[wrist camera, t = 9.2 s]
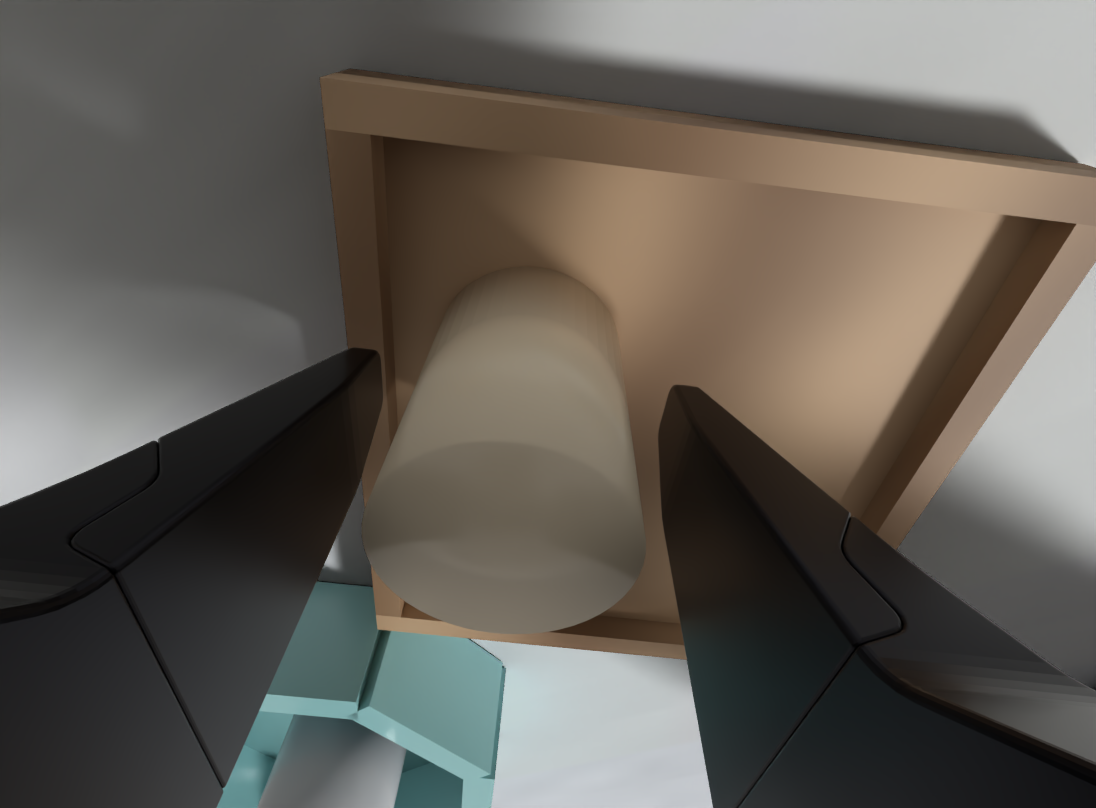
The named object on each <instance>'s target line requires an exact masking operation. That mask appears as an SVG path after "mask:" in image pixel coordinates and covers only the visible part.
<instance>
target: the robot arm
mask: <svg viewBox="0 0 1096 808" xmlns="http://www.w3.org/2000/svg"><path fill="white" fill-rule="evenodd" d="M382 403H383V385H382V370H381V358H380V355H379V353H378V351H376V350H373V349H365V348H356V347H353V348H349V349H347V350H345V351H343V352H341V353H339V354H337V355H334V356H332V357H330V358H328V359H326V360H324V361H322V362H320V363H317V364H315V365H313V366H311V367H309V368H307V369H305V370H303V371H300V372H298V373H296V374H294V375H292V376H290V377H288V378H286V379H283V380H281V381H279V382H277V383H275V384H273V385H271V386H269V387H266V388H264V389H262V390H260V391H258V392H256V393H254V394H252V395H249V396H247V397H245V398H243V399H241V400H239V401H237V402H235V403H232V404H230V405H228V406H226V407H224V408H222V409H220V410H218V411H215V412H213V413H211V414H209V415H207V416H205V417H203V418H201V419H198V420H196V421H194V422H192V423H190V424H188V425H186V426H184V427H181V428H179V429H177V430H175V431H173V432H171V433H169V434H167V435H164V436H162V437H160V438H159V439H158V442H157V441H151V442H149V443H147V444H145V445H143V446H141V447H139V448H137V449H135V450H133V451H130V452H128V453H126V454H124V455H122V456H119V457H117V458H115V459H113V460H111V461H108V462H106V463H104V464H102V465H99V466H97V467H95V468H93V469H91V470H88V471H86V472H84V473H82V474H79V475H77V476H74V477H72V478H69V479H67V480H65V481H62V482H60V483H57V484H55V485H52V486H50V487H48V488H45V489H43V490H40V491H38V492H35V493H33V494H31V495H28V496H25V497H23V498H20V499H18V500H15V501H13V502H10V503H8V504H5V505H3V506H0V808H217V806H218V804H219V801H220V799H221V797H222V795H223V789H222V788H224V787H225V786H226V785H227V783H228V780H229V778H230V776H231V773H232V771H233V769H234V767H235V764H236V762H237V760H238V758H239V755H240V753H241V751H242V749H243V746H244V744H245V742H246V740H247V737H248V735H249V733H250V731H251V728H252V726H253V724H254V722H255V719H256V717H257V715H258V713H259V710H260V708H261V706H262V703H263V701H264V699H265V697H266V694H267V692H268V690H269V688H270V685H271V683H272V681H273V679H274V676H275V674H276V672H277V670H278V667H279V665H280V663H281V661H282V658H283V656H284V654H285V652H286V649H287V647H288V645H289V643H290V640H291V638H292V636H293V633H294V631H295V629H296V627H297V624H298V622H299V620H300V618H301V615H302V613H303V611H304V609H305V606H306V604H307V602H308V600H309V597H310V595H311V593H312V591H313V588H314V586H315V584H316V582H317V579H318V577H319V575H320V573H321V570H322V568H323V566H324V564H325V561H326V559H327V557H328V554H329V552H330V550H331V548H332V545H333V543H334V541H335V539H336V536H337V534H338V532H339V530H340V527H341V525H342V523H343V521H344V518H345V516H346V514H347V512H348V509H349V507H350V505H351V503H352V500H353V498H354V496H355V493H356V491H357V488H358V486H359V483H360V479H361V476H362V473H363V470H364V466H365V463H366V460H367V456H368V453H369V449H370V446H371V443H372V439H373V436H374V432H375V429H376V426H377V422H378V419H379V415H380V412H381V408H382ZM658 450H659V471H660V493H661V511H662V522H663V528H664V535H665V540H666V546H667V551H668V557H669V563H670V568H671V574H672V579H673V585H674V591H675V596H676V602H677V607H678V613H679V619H680V624H681V630H682V636H683V641H684V647H685V652H686V658H687V664H688V669H689V675H690V680H691V686H692V692H693V697H694V703H695V708H696V714H697V720H698V725H699V731H700V736H701V742H702V748H703V753H704V759H705V764H706V770H707V776H708V781H709V787H710V792H711V798H712V804H713V808H1096V690H1094V689H1091V688H1090V687H1088V686H1086V685H1084V684H1083V683H1081V682H1079V681H1077V680H1075V679H1074V678H1072V677H1070V676H1069V675H1067V674H1066V673H1064V672H1063V671H1061V670H1060V669H1058V668H1057V667H1055V666H1054V665H1052V664H1051V663H1049V662H1048V661H1047V660H1045V659H1044V658H1042V657H1041V656H1040V655H1038V654H1037V653H1036V652H1034V651H1033V650H1031V649H1030V648H1029V647H1027V646H1026V645H1024V644H1023V643H1022V642H1020V641H1019V640H1018V639H1016V638H1015V637H1013V636H1012V635H1011V634H1009V633H1008V632H1006V631H1005V630H1004V629H1002V628H1001V627H1000V626H998V625H997V624H995V623H994V622H993V621H991V620H990V619H988V618H987V617H986V616H984V615H983V614H982V613H980V612H979V611H977V610H976V609H975V608H973V607H972V606H971V605H969V604H968V603H966V602H965V601H964V600H962V599H961V598H959V597H958V596H957V595H955V594H954V593H953V592H951V591H950V590H948V589H947V588H946V587H944V586H943V585H942V584H940V583H939V582H938V581H936V580H935V579H934V578H932V577H931V576H930V575H928V574H927V573H925V572H924V571H923V570H921V569H920V568H919V567H917V566H916V565H915V564H913V563H912V562H911V561H909V560H908V559H907V558H906V557H904V556H903V555H902V554H900V553H899V552H898V551H897V550H895V549H894V548H893V547H892V546H890V545H889V544H888V543H887V542H885V541H884V540H883V539H882V538H880V537H879V536H878V535H877V534H875V533H874V532H873V531H872V530H871V529H869V528H868V527H867V526H866V525H865V524H863V523H862V522H861V521H860V520H859V519H857V518H856V517H854V516H852V517H850V516H851V514H850V512H849V511H848V510H846V509H845V508H844V507H843V506H842V505H840V504H839V503H838V502H837V501H835V500H834V499H833V498H832V497H831V496H829V495H828V494H827V493H826V492H825V491H823V490H822V489H821V488H820V487H819V486H817V485H816V484H815V483H814V482H813V481H811V480H810V479H809V478H808V477H806V476H805V475H804V474H803V473H802V472H800V471H799V470H798V469H797V468H796V467H794V466H793V465H792V464H791V463H790V462H788V461H787V460H786V459H785V458H784V457H782V456H781V455H780V454H779V453H777V452H776V451H775V450H774V449H773V448H771V447H770V446H769V445H768V444H767V443H765V442H764V441H763V440H762V439H761V438H759V437H758V436H757V435H756V434H755V433H753V432H752V431H751V430H750V429H748V428H747V427H746V426H745V425H744V424H742V423H741V422H740V421H739V420H738V419H736V418H735V417H734V416H733V415H732V414H730V413H729V412H728V411H727V410H726V409H724V408H723V407H722V406H721V405H719V404H718V403H717V402H716V401H715V400H713V399H712V398H711V397H710V396H709V395H707V394H706V393H705V392H704V391H703V390H701V389H700V388H699V387H696V386H688V385H679V384H677V385H673V386H672V387H671V389H670V391H669V394H668V397H667V401H666V404H665V408H664V411H663V415H662V418H661V422H660V426H659V432H658Z"/></svg>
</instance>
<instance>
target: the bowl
mask: <svg viewBox="0 0 1096 808" xmlns="http://www.w3.org/2000/svg"><path fill="white" fill-rule="evenodd" d="M502 664H503V663H502V662H501V661H500V660H498V659H497V658H495V657H494V656H492V655H491V654H489V653H488V652H487V651H485V650H484V649H482V648H481V647H479V646H478V645H477V644H475V643H474V642H472V641H471V640H469V639H468V638H459V637H449V636H439V635H429V634H418V633H408V632H398V631H388V630H377V620H376V611H375V601H374V592H373V587H366V586H356V585H346V584H336V583H326V582H316V584H315V586H314V588H313V591H312V593H311V595H310V597H309V600H308V602H307V604H306V606H305V609H304V611H303V613H302V615H301V618H300V620H299V622H298V624H297V627H296V629H295V631H294V633H293V636H292V638H291V640H290V643H289V645H288V647H287V649H286V652H285V654H284V656H283V658H282V661H281V663H280V665H279V667H278V670H277V672H276V674H275V676H274V679H273V681H272V683H271V685H270V688H269V690H268V692H267V694H266V697H265V699H264V701H263V703H262V706H261V708H260V710H259V713H258V715H257V717H256V719H255V722H254V724H253V726H252V728H251V731H250V733H249V735H248V737H247V740H246V742H245V744H244V746H243V749H242V751H241V753H240V755H239V758H238V760H237V762H236V764H235V767H234V769H233V771H232V773H231V776H230V778H229V780H228V783H227V785H226V786H225V787H224V788H222V789H223V795H222V797H221V799H220V801H219V804H218V806H217V808H257V807H258V804H259V802H260V799H261V796H262V794H263V791H264V789H265V786H266V784H267V781H268V779H269V776H270V773H271V771H272V768H273V766H274V763H275V761H276V758H277V756H278V753H279V750H280V748H281V745H282V743H283V740H284V738H285V735H286V733H287V730H288V727H289V725H290V722H291V720H292V717H293V715H294V714H297V715H308V716H319V717H330V718H341V719H351V720H353V721H355V722H357V723H359V724H361V725H363V726H365V727H367V728H368V729H370V730H372V731H374V732H376V733H378V734H380V735H381V736H383V737H385V738H387V739H389V740H391V741H393V742H394V743H396V744H398V745H400V746H402V747H404V748H406V749H407V750H406V755H405V759H404V764H403V768H402V773H401V777H400V782H399V787H398V791H397V796H396V800H395V805H394V808H491V803H492V795H493V787H494V780H495V770H496V760H497V750H498V741H499V731H500V721H501V711H502V701H503V691H504V682H505V672H506V668H502Z"/></svg>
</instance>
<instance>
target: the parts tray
mask: <svg viewBox="0 0 1096 808" xmlns="http://www.w3.org/2000/svg"><path fill="white" fill-rule="evenodd" d="M320 86H321V96H322V105H323V115H324V124H325V134H326V143H327V153H328V162H329V172H330V182H331V191H332V201H333V210H334V220H335V229H336V239H337V248H338V258H339V267H340V277H341V287H342V296H343V306H344V315H345V325H346V334H347V344H348V349H349V348H353V347H356V348H365V349H373V350H376V351H378V353H379V355H380V358H381V370H382V385H383V403H382V408H381V412H380V415H379V419H378V422H377V426H376V429H375V432H374V436H373V439H372V443H371V446H370V449H369V453H368V456H367V460H366V463H365V466H364V470H363V473H362V476H361V477H362V487H363V496H364V506H365V507H366V505H367V502H368V500H369V497H370V495H371V492H372V490H373V488H374V485H375V483H376V480H377V478H378V475H379V473H380V470H381V468H382V466H383V463H384V461H385V458H386V456H387V453H388V451H389V449H390V446H391V444H392V441H393V439H394V436H395V434H396V432H397V429H398V427H399V424H400V422H401V419H402V417H403V415H404V412H405V410H406V407H407V405H408V402H409V400H410V398H411V395H412V393H413V390H414V388H415V385H416V383H417V381H418V378H419V376H420V373H421V371H422V368H423V366H424V364H425V361H426V359H427V356H428V354H429V351H430V349H431V347H432V344H433V342H434V339H435V337H436V334H437V332H438V330H439V327H440V325H441V322H442V320H443V317H444V315H445V313H446V311H447V309H448V307H449V305H450V304H451V302H452V301H453V300H454V298H455V297H456V296H457V295H458V294H459V293H460V292H461V291H462V290H463V289H464V288H465V287H466V286H467V285H469V284H470V283H472V282H473V281H475V280H476V279H478V278H480V277H482V276H484V275H486V274H488V273H491V272H494V271H497V270H500V269H505V268H510V267H521V266H530V267H541V268H546V269H551V270H554V271H558V272H561V273H564V274H566V275H568V276H570V277H572V278H574V279H576V280H578V281H579V282H581V283H582V284H584V285H585V286H587V287H588V288H589V289H590V290H591V291H593V292H594V293H595V294H596V295H597V296H598V297H599V299H600V300H601V301H602V302H603V303H604V305H605V306H606V308H607V309H608V311H609V312H610V314H611V316H612V318H613V320H614V323H615V326H616V329H617V333H618V339H619V345H620V353H621V360H622V367H623V375H624V382H625V390H626V397H627V404H628V412H629V419H630V427H631V434H632V441H633V449H634V456H635V464H636V471H637V478H638V486H639V493H640V500H641V508H642V515H643V523H644V530H645V537H646V555H645V559H644V564H643V567H642V569H641V572H640V574H639V577H638V578H637V580H636V581H635V583H634V585H633V586H632V588H631V589H630V590H629V591H628V592H627V593H626V594H625V596H624V597H623V598H622V599H620V600H619V601H618V602H617V603H616V604H614V605H613V606H612V607H611V608H609V609H607V610H606V611H604V612H603V613H601V614H599V615H597V616H595V617H593V618H591V619H589V620H587V621H585V622H582V623H579V624H577V625H574V626H571V627H567V628H563V629H559V630H554V631H549V632H543V633H533V634H498V633H489V632H482V631H476V630H472V629H467V628H463V627H459V626H456V625H453V624H449V623H447V622H444V621H442V620H439V619H436V618H434V617H432V616H430V615H428V614H426V613H424V612H422V611H420V610H418V609H416V608H415V607H413V606H412V605H410V604H408V603H407V602H405V601H404V600H403V599H401V598H400V597H399V596H398V595H396V594H395V593H394V592H393V591H392V590H391V589H390V588H389V587H388V586H387V585H386V584H385V583H384V582H383V581H382V580H381V578H380V577H379V576H378V575H377V573H376V572H375V570H374V569H373V567H372V565H371V573H372V582H373V592H374V601H375V611H376V620H377V630H388V631H398V632H408V633H418V634H429V635H439V636H449V637H459V638H470V639H480V640H490V641H500V642H511V643H521V644H531V645H541V646H552V647H562V648H572V649H582V650H592V651H603V652H613V653H623V654H633V655H644V656H654V657H664V658H674V659H685V660H687V658H686V652H685V647H684V641H683V636H682V630H681V624H680V619H679V613H678V607H677V602H676V596H675V591H674V585H673V579H672V574H671V568H670V563H669V557H668V551H667V546H666V540H665V535H664V528H663V522H662V511H661V493H660V471H659V450H658V432H659V426H660V422H661V418H662V415H663V411H664V408H665V404H666V401H667V397H668V394H669V391H670V389H671V387H672V386H673V385H677V384H679V385H688V386H696V387H699V388H700V389H701V390H703V391H704V392H705V393H706V394H707V395H709V396H710V397H711V398H712V399H713V400H715V401H716V402H717V403H718V404H719V405H721V406H722V407H723V408H724V409H726V410H727V411H728V412H729V413H730V414H732V415H733V416H734V417H735V418H736V419H738V420H739V421H740V422H741V423H742V424H744V425H745V426H746V427H747V428H748V429H750V430H751V431H752V432H753V433H755V434H756V435H757V436H758V437H759V438H761V439H762V440H763V441H764V442H765V443H767V444H768V445H769V446H770V447H771V448H773V449H774V450H775V451H776V452H777V453H779V454H780V455H781V456H782V457H784V458H785V459H786V460H787V461H788V462H790V463H791V464H792V465H793V466H794V467H796V468H797V469H798V470H799V471H800V472H802V473H803V474H804V475H805V476H806V477H808V478H809V479H810V480H811V481H813V482H814V483H815V484H816V485H817V486H819V487H820V488H821V489H822V490H823V491H825V492H826V493H827V494H828V495H829V496H831V497H832V498H833V499H834V500H835V501H837V502H838V503H839V504H840V505H842V506H843V507H844V508H845V509H846V510H848V511H849V512H850V514H851V516H850V517H852V516H854V517H856V518H857V519H859V520H860V521H861V522H862V523H863V524H865V525H866V526H867V527H868V528H869V529H871V530H872V531H873V532H874V533H875V534H877V535H878V536H879V537H880V538H882V539H883V540H884V541H885V542H887V543H888V544H889V545H890V546H892V547H893V548H894V549H895V550H896V549H897V548H898V547H899V545H900V544H901V542H902V541H903V539H904V538H905V536H906V535H907V533H908V532H909V531H910V529H911V528H912V526H913V525H914V523H915V522H916V520H917V519H918V518H919V516H920V515H921V513H922V512H923V510H924V509H925V507H926V506H927V505H928V503H929V502H930V500H931V499H932V497H933V496H934V494H935V493H936V492H937V490H938V489H939V487H940V486H941V484H942V483H943V481H944V480H945V479H946V477H947V476H948V474H949V473H950V471H951V470H952V468H953V467H954V466H955V464H956V463H957V461H958V460H959V458H960V457H961V455H962V454H963V453H964V451H965V450H966V448H967V447H968V445H969V444H970V442H971V441H972V440H973V438H974V437H975V435H976V434H977V432H978V431H979V429H980V428H981V427H982V425H983V424H984V422H985V421H986V419H987V418H988V416H989V415H990V414H991V412H992V411H993V409H994V408H995V406H996V405H997V403H998V402H999V401H1000V399H1001V398H1002V396H1003V395H1004V393H1005V392H1006V390H1007V389H1008V388H1009V386H1010V385H1011V383H1012V382H1013V380H1014V379H1015V377H1016V376H1017V375H1018V373H1019V372H1020V370H1021V369H1022V367H1023V366H1024V364H1025V363H1026V362H1027V360H1028V359H1029V357H1030V356H1031V354H1032V353H1033V351H1034V350H1035V349H1036V347H1037V346H1038V344H1039V343H1040V341H1041V340H1042V338H1043V337H1044V336H1045V334H1046V333H1047V331H1048V330H1049V328H1050V327H1051V325H1052V324H1053V323H1054V321H1055V320H1056V318H1057V317H1058V315H1059V314H1060V312H1061V311H1062V310H1063V308H1064V307H1065V305H1066V304H1067V302H1068V301H1069V299H1070V298H1071V297H1072V295H1073V294H1074V292H1075V291H1076V289H1077V288H1078V286H1079V285H1080V284H1081V282H1082V281H1083V279H1084V278H1085V276H1086V275H1087V273H1088V272H1089V271H1090V269H1091V268H1092V266H1093V265H1094V263H1095V262H1096V168H1094V167H1091V166H1088V165H1085V164H1079V163H1072V162H1064V161H1056V160H1049V159H1041V158H1033V157H1026V156H1018V155H1010V154H1003V153H995V152H987V151H979V150H972V149H964V148H956V147H949V146H941V145H933V144H926V143H918V142H910V141H903V140H895V139H887V138H880V137H872V136H864V135H857V134H849V133H841V132H833V131H826V130H818V129H810V128H803V127H795V126H787V125H780V124H772V123H764V122H757V121H749V120H741V119H734V118H726V117H718V116H711V115H703V114H695V113H687V112H680V111H672V110H664V109H657V108H649V107H641V106H634V105H626V104H618V103H611V102H603V101H595V100H588V99H580V98H572V97H565V96H557V95H549V94H541V93H534V92H526V91H518V90H511V89H503V88H495V87H488V86H480V85H472V84H465V83H457V82H449V81H442V80H434V79H426V78H419V77H411V76H403V75H395V74H388V73H380V72H372V71H365V70H357V69H347V70H343V71H340V72H336V73H333V74H330V75H326V76H323V77H320Z"/></svg>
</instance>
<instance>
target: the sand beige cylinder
mask: <svg viewBox="0 0 1096 808" xmlns="http://www.w3.org/2000/svg"><path fill="white" fill-rule="evenodd" d="M361 525H362V541H363V546H364V550H365V552H366V555H367V557H368V560H369V562H370V564H371V565H372V567H373V569H374V570H375V572H376V573H377V575H378V576H379V577H380V578H381V580H382V581H383V582H384V583H385V584H386V585H387V586H388V587H389V588H390V589H391V590H392V591H393V592H394V593H395V594H396V595H398V596H399V597H400V598H401V599H403V600H404V601H405V602H407V603H408V604H410V605H412V606H413V607H415V608H416V609H418V610H420V611H422V612H424V613H426V614H428V615H430V616H432V617H434V618H436V619H439V620H442V621H444V622H447V623H449V624H453V625H456V626H459V627H463V628H467V629H472V630H476V631H482V632H489V633H498V634H533V633H543V632H549V631H554V630H559V629H563V628H567V627H571V626H574V625H577V624H579V623H582V622H585V621H587V620H589V619H591V618H593V617H595V616H597V615H599V614H601V613H603V612H604V611H606V610H607V609H609V608H611V607H612V606H613V605H614V604H616V603H617V602H618V601H619V600H620V599H622V598H623V597H624V596H625V594H626V593H627V592H628V591H629V590H630V589H631V588H632V586H633V585H634V583H635V581H636V580H637V578H638V577H639V574H640V572H641V569H642V567H643V564H644V559H645V555H646V537H645V530H644V523H643V515H642V508H641V500H640V493H639V486H638V478H637V471H636V464H635V456H634V449H633V441H632V434H631V427H630V419H629V412H628V404H627V397H626V390H625V382H624V375H623V367H622V360H621V353H620V345H619V339H618V333H617V329H616V326H615V323H614V320H613V318H612V316H611V314H610V312H609V311H608V309H607V308H606V306H605V305H604V303H603V302H602V301H601V300H600V299H599V297H598V296H597V295H596V294H595V293H594V292H593V291H591V290H590V289H589V288H588V287H587V286H585V285H584V284H582V283H581V282H579V281H578V280H576V279H574V278H572V277H570V276H568V275H566V274H564V273H561V272H558V271H554V270H551V269H546V268H541V267H530V266H521V267H510V268H505V269H500V270H497V271H494V272H491V273H488V274H486V275H484V276H482V277H480V278H478V279H476V280H475V281H473V282H472V283H470V284H469V285H467V286H466V287H465V288H464V289H463V290H462V291H461V292H460V293H459V294H458V295H457V296H456V297H455V298H454V300H453V301H452V302H451V304H450V305H449V307H448V309H447V311H446V313H445V315H444V317H443V320H442V322H441V325H440V327H439V330H438V332H437V334H436V337H435V339H434V342H433V344H432V347H431V349H430V351H429V354H428V356H427V359H426V361H425V364H424V366H423V368H422V371H421V373H420V376H419V378H418V381H417V383H416V385H415V388H414V390H413V393H412V395H411V398H410V400H409V402H408V405H407V407H406V410H405V412H404V415H403V417H402V419H401V422H400V424H399V427H398V429H397V432H396V434H395V436H394V439H393V441H392V444H391V446H390V449H389V451H388V453H387V456H386V458H385V461H384V463H383V466H382V468H381V470H380V473H379V475H378V478H377V480H376V483H375V485H374V488H373V490H372V492H371V495H370V497H369V500H368V502H367V505H366V507H365V510H364V513H363V519H362V524H361Z"/></svg>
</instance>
